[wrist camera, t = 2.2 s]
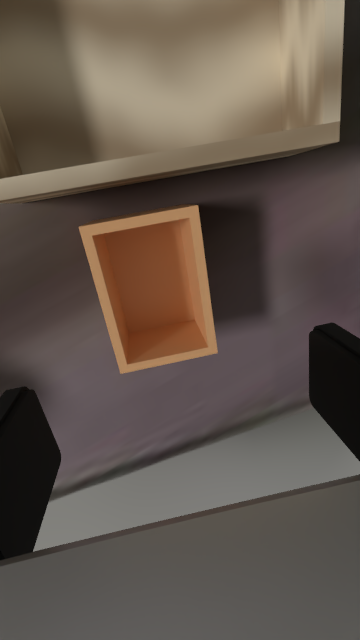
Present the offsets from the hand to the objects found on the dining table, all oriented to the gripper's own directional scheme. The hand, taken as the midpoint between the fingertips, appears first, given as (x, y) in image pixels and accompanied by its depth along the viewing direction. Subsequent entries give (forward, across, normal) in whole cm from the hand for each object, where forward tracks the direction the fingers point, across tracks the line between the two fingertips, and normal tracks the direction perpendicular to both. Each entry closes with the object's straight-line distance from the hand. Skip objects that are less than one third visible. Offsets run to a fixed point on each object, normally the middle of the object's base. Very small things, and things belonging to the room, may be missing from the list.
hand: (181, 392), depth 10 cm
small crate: (+16, 0, 0) cm, 16 cm away
